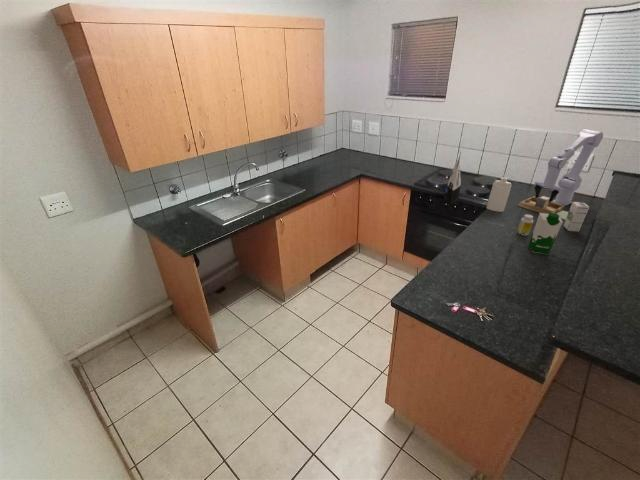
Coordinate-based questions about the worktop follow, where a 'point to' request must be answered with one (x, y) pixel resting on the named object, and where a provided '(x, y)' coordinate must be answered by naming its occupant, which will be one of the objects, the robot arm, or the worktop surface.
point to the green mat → (562, 214)
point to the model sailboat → (453, 185)
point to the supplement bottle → (525, 225)
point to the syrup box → (576, 216)
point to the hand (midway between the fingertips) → (543, 199)
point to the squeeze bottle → (499, 195)
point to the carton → (531, 203)
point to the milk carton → (545, 232)
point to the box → (542, 202)
